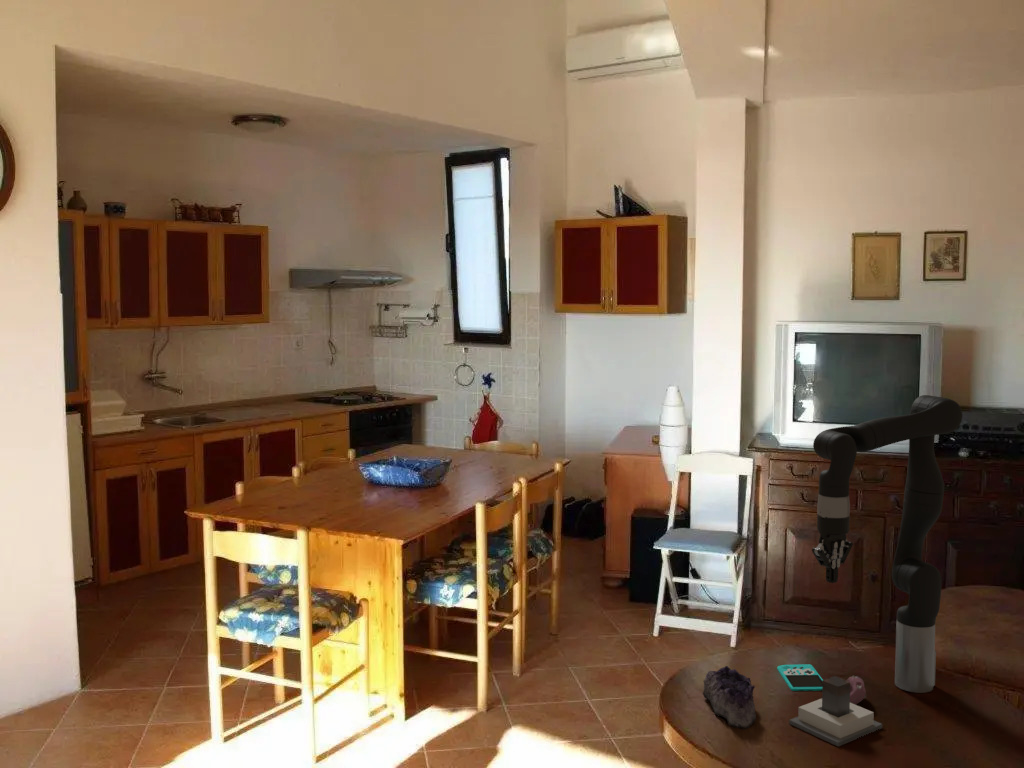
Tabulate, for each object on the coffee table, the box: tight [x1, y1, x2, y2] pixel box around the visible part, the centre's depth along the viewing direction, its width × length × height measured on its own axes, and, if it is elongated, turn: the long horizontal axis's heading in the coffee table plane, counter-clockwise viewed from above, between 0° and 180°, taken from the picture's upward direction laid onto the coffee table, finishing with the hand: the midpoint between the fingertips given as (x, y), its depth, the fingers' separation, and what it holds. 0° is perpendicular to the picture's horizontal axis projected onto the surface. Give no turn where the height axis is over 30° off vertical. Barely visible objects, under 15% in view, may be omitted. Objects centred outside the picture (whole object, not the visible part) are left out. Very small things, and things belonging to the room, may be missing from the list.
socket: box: [788, 698, 883, 747], centre depth 231 cm, size 16×14×4 cm
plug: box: [821, 675, 850, 718], centre depth 230 cm, size 4×4×10 cm
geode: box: [702, 665, 757, 730], centre depth 240 cm, size 20×12×10 cm, turn 6°
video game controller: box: [845, 675, 867, 705], centre depth 244 cm, size 10×5×7 cm, turn 170°
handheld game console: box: [776, 663, 824, 692], centre depth 259 cm, size 10×16×1 cm, turn 0°
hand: (831, 581), depth 240 cm, fingers closed
